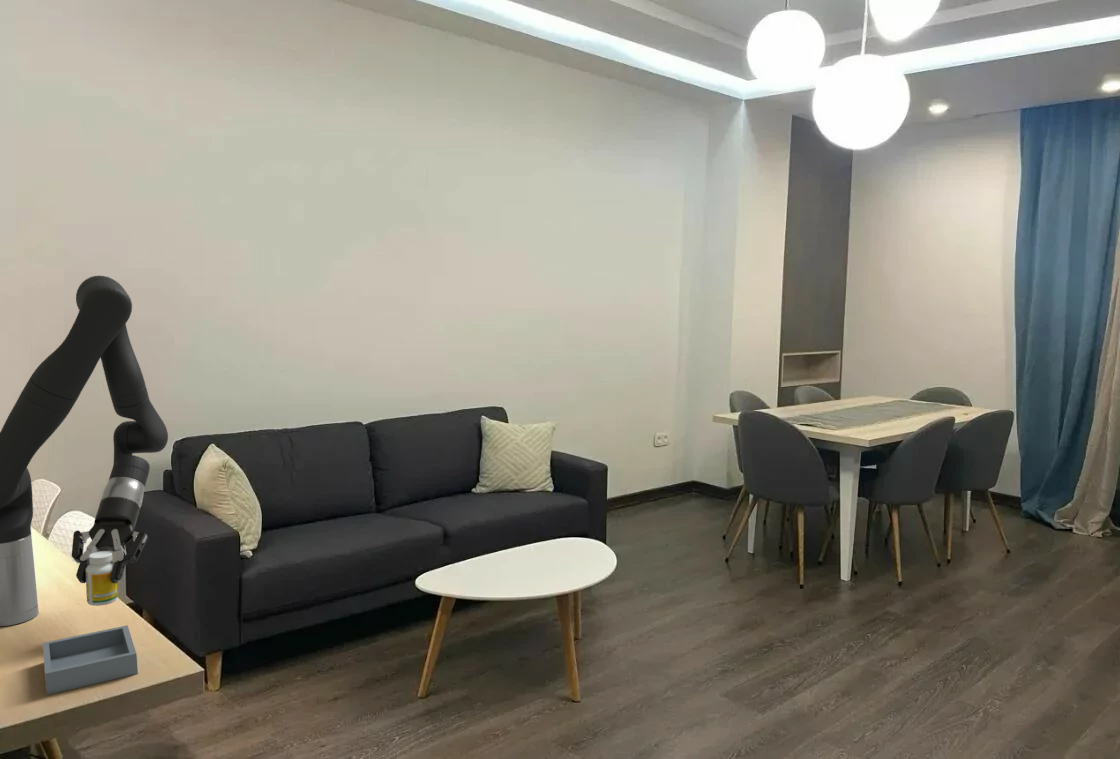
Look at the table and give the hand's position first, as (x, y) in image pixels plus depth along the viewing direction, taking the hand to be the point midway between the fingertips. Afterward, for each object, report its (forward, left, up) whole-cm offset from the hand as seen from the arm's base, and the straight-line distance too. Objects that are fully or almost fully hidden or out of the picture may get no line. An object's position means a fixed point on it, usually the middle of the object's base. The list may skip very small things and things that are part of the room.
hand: (97, 581), depth 167 cm
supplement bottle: (-1, +2, -5) cm, 5 cm away
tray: (+6, -13, -11) cm, 18 cm away
